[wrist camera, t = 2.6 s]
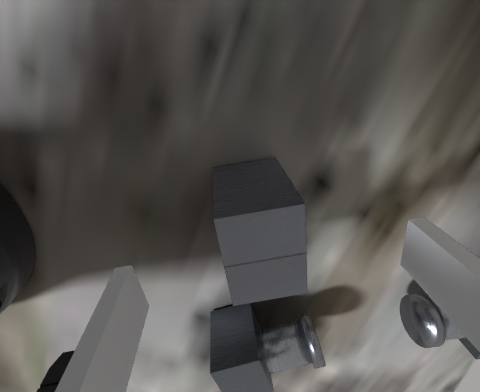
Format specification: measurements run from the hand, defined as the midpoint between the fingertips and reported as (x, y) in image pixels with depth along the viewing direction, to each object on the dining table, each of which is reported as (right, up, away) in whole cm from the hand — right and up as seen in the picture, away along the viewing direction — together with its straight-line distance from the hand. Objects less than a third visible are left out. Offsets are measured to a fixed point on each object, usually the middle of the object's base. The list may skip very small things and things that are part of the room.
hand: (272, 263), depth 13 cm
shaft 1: (+1, -8, +11) cm, 13 cm away
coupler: (-1, +3, +5) cm, 6 cm away
